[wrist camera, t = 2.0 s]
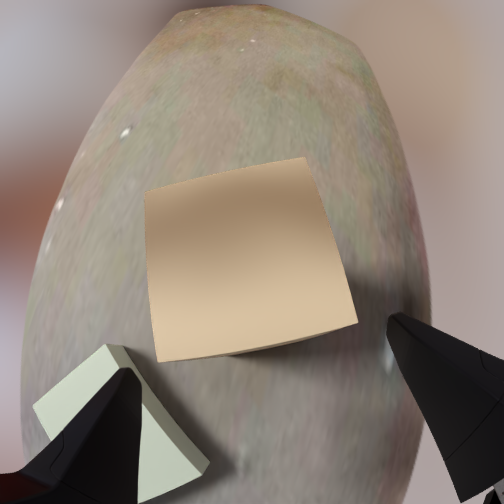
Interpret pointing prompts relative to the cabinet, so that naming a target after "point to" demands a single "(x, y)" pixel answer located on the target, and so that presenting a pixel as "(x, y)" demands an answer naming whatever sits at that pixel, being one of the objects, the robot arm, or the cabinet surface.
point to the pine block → (242, 263)
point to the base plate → (153, 423)
